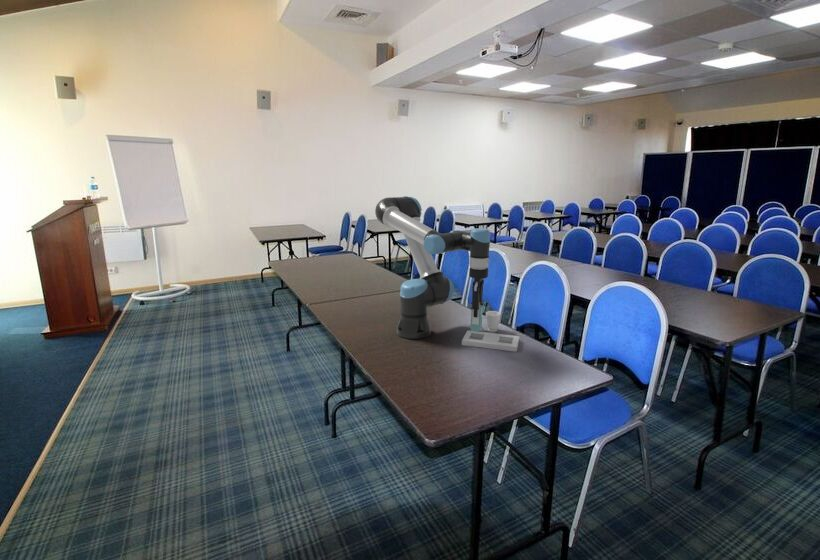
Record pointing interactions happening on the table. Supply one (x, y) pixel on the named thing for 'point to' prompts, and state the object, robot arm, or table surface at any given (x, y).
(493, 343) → the panel
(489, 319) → the cup
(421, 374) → the table surface
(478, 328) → the plug
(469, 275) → the robot arm
